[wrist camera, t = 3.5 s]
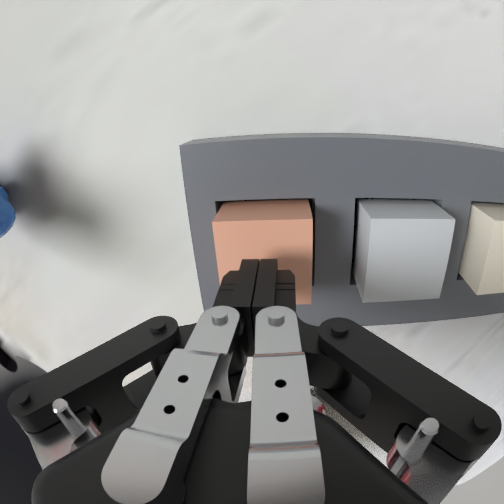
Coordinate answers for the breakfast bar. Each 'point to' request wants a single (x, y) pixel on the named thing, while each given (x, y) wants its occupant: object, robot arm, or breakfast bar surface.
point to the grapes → (5, 213)
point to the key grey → (401, 249)
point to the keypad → (344, 208)
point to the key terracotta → (267, 238)
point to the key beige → (484, 249)
